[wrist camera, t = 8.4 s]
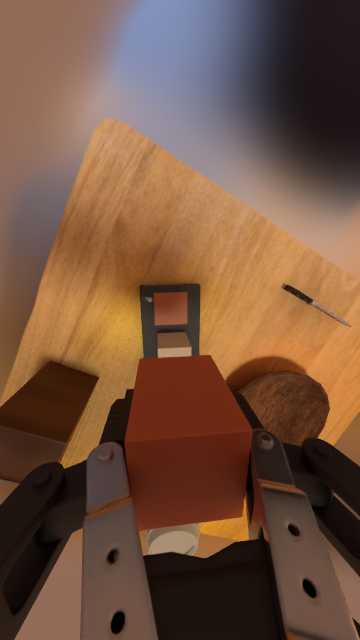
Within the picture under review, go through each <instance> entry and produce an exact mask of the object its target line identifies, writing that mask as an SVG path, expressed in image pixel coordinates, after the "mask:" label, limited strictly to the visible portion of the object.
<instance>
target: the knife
mask: <svg viewBox="0 0 360 640" xmlns="http://www.w3.org/2000/svg"><path fill="white" fill-rule="evenodd" d="M285 290H286V291H288V292H290V293H292V294H294V295H295V296H297V297H298V298H300V299H302V300H304V301H305V302H307V303H306V304H310V305H312V306H314V307H316V308H317V309H319V310H321V311H322V312H324V313H326V314H327V315H329V316H331V317H332V318H334V319H336V320H337V321H339V322H341V323H342V324H345V325H347V326H350V325H349V324H348V323H347V322H345V321H344V320H342V319H341V318H339V317H338V316H336V315H334V314H333V313H331V312H330V311H328V310H326V309H325V308H323V307H322V306H320V305H319V304H317V302H316V301H314V300H312V299H311V298H309V297H308V296H306V295H305V294H303V293H301V292H300V291H298V290H297V289H295V288H293V287H291V286H289V285H287V286H286V287H285ZM350 327H351V326H350Z"/></svg>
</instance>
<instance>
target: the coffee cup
mask: <svg viewBox="0 0 360 640" xmlns="http://www.w3.org/2000/svg"><path fill="white" fill-rule="evenodd" d="M199 534H200V531H199V523H194V524H187V525H179V526H172V527H164V528H157V529H149V530H146V533H145V538H146V545H147V547H148V552H149V555H152V554H159V553H166V552H176V553H181V554H186V555H190V556H192V555H193V554H194V553H195V552H196V550H197V548H198V539H199Z"/></svg>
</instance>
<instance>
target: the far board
mask: <svg viewBox="0 0 360 640" xmlns="http://www.w3.org/2000/svg"><path fill="white" fill-rule="evenodd" d="M140 302H141V318H142V334H143V350H144V358H163V357H183V356H199V330H200V285H199V284H174V285H140Z"/></svg>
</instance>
